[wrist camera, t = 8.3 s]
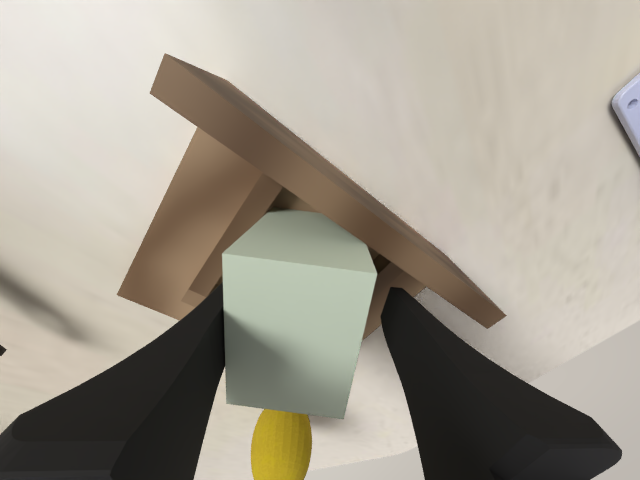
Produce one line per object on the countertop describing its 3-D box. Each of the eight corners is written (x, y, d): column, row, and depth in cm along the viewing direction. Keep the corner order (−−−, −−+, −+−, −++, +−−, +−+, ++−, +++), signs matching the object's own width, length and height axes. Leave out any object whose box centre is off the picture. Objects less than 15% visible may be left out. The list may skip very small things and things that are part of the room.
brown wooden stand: (446, 255, 18) (506, 315, 12) (318, 366, 23) (322, 441, 18) (227, 80, 12) (164, 52, 6) (126, 285, 17) (48, 360, 12)
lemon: (251, 387, 24) (229, 498, 17) (302, 376, 24) (302, 485, 17) (269, 413, 27) (257, 519, 20) (316, 404, 26) (320, 508, 19)
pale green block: (356, 217, 14) (377, 273, 7) (337, 320, 17) (341, 428, 10) (273, 207, 14) (221, 253, 7) (268, 311, 17) (226, 413, 10)
